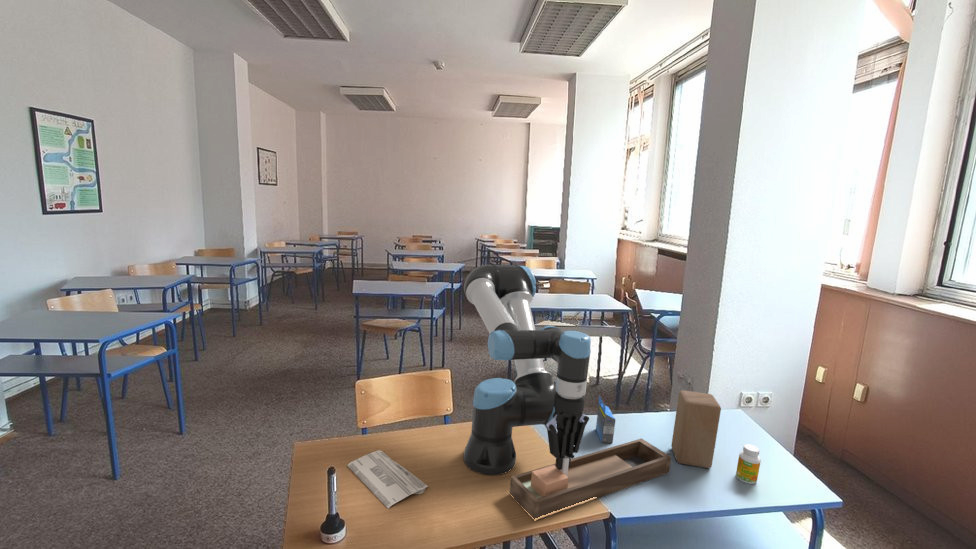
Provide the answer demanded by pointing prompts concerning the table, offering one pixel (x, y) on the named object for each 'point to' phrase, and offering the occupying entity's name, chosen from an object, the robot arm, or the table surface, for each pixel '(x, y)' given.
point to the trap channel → (594, 476)
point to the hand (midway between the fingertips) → (561, 478)
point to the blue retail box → (605, 423)
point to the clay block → (548, 480)
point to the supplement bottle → (748, 464)
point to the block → (695, 428)
